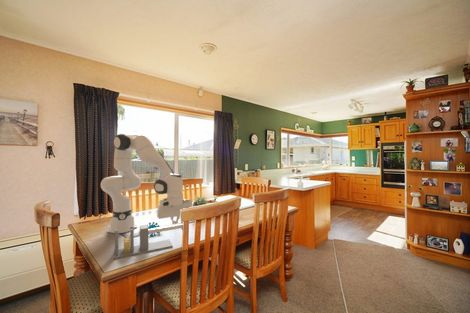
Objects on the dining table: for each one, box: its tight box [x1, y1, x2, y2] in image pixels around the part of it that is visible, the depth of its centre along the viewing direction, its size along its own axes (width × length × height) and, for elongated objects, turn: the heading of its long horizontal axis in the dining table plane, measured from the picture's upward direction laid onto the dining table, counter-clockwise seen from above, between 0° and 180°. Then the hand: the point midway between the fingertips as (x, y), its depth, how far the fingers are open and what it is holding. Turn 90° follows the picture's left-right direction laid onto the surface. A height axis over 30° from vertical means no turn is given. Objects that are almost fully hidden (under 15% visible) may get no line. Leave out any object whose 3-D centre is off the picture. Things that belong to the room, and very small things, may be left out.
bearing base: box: [113, 224, 174, 260], centre depth 121 cm, size 10×30×14 cm, turn 118°
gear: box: [146, 221, 160, 237], centre depth 144 cm, size 11×6×10 cm
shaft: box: [138, 221, 183, 236], centre depth 126 cm, size 8×28×6 cm, turn 118°
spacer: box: [123, 236, 130, 254], centre depth 117 cm, size 6×3×6 cm, turn 28°
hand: (175, 223), depth 126 cm, fingers closed
